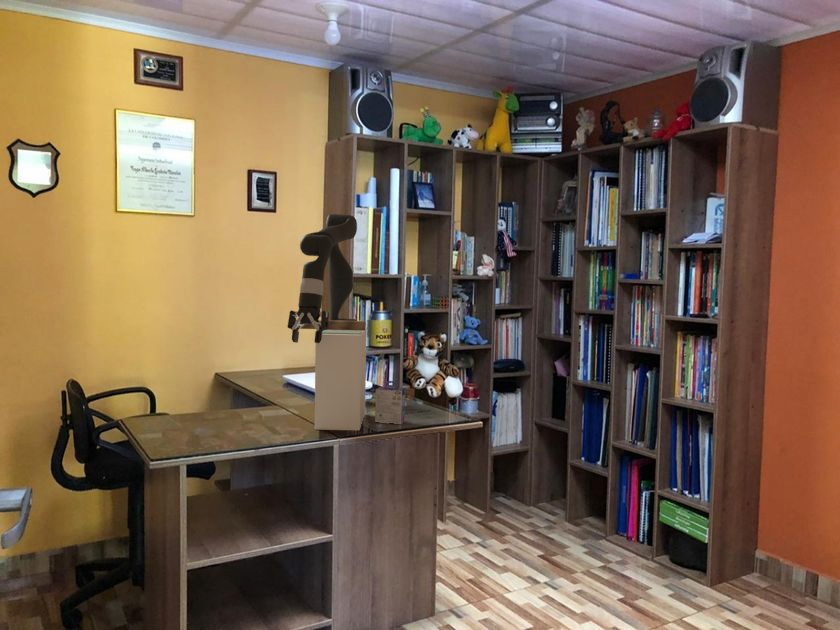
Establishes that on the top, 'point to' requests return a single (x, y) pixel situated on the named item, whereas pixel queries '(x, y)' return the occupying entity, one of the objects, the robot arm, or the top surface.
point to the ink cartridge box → (390, 404)
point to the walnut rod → (340, 325)
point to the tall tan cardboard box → (340, 380)
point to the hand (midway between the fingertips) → (306, 342)
